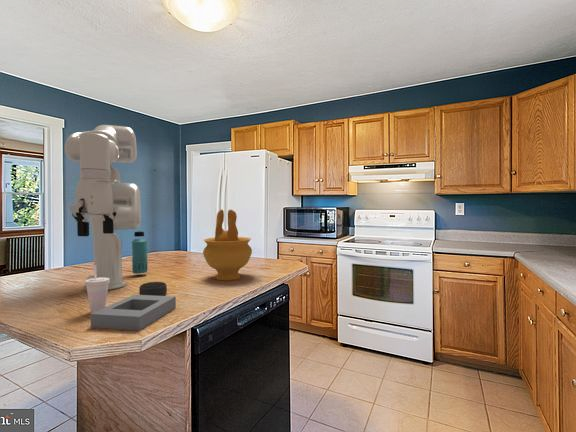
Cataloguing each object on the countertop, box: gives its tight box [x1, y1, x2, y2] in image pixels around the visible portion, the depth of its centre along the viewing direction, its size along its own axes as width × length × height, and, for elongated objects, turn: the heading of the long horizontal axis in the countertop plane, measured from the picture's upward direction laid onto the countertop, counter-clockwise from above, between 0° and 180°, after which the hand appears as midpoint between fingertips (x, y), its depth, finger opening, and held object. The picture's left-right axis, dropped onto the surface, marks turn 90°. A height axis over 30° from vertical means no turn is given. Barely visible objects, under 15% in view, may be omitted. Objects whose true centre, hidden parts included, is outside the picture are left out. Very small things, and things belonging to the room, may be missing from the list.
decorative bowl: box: [202, 209, 253, 281], centre depth 138 cm, size 21×21×30 cm
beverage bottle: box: [131, 231, 149, 275], centre depth 143 cm, size 6×7×20 cm
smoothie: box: [84, 264, 110, 314], centre depth 94 cm, size 6×6×14 cm
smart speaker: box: [138, 281, 168, 296], centre depth 112 cm, size 9×9×4 cm
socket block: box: [89, 294, 177, 331], centre depth 90 cm, size 14×18×4 cm
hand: (96, 234), depth 93 cm, fingers open, 9 cm apart
